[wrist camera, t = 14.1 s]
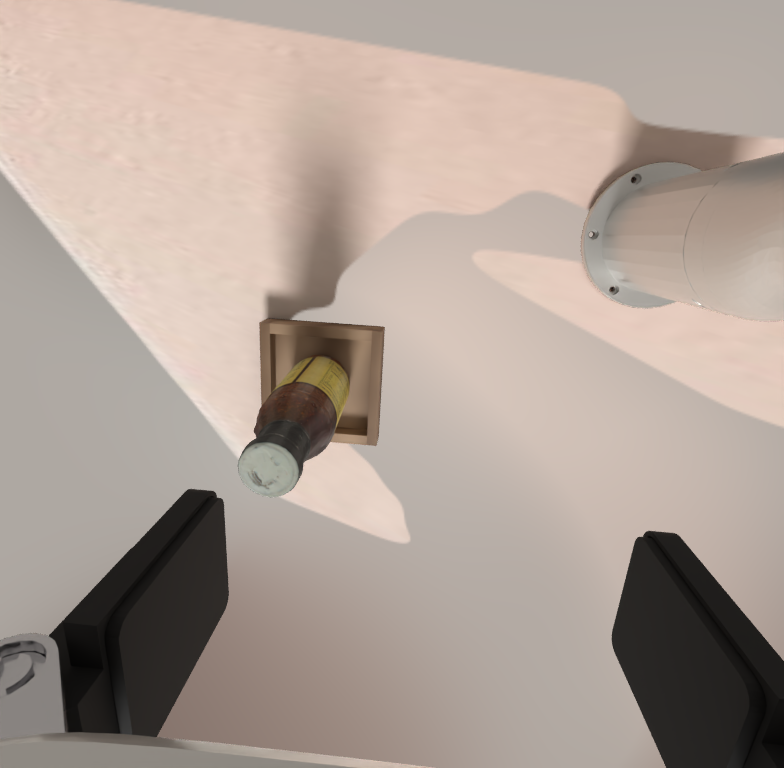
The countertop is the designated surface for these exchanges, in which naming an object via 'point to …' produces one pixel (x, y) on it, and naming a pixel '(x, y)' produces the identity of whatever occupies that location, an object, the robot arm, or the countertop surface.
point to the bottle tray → (343, 343)
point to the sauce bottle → (294, 425)
